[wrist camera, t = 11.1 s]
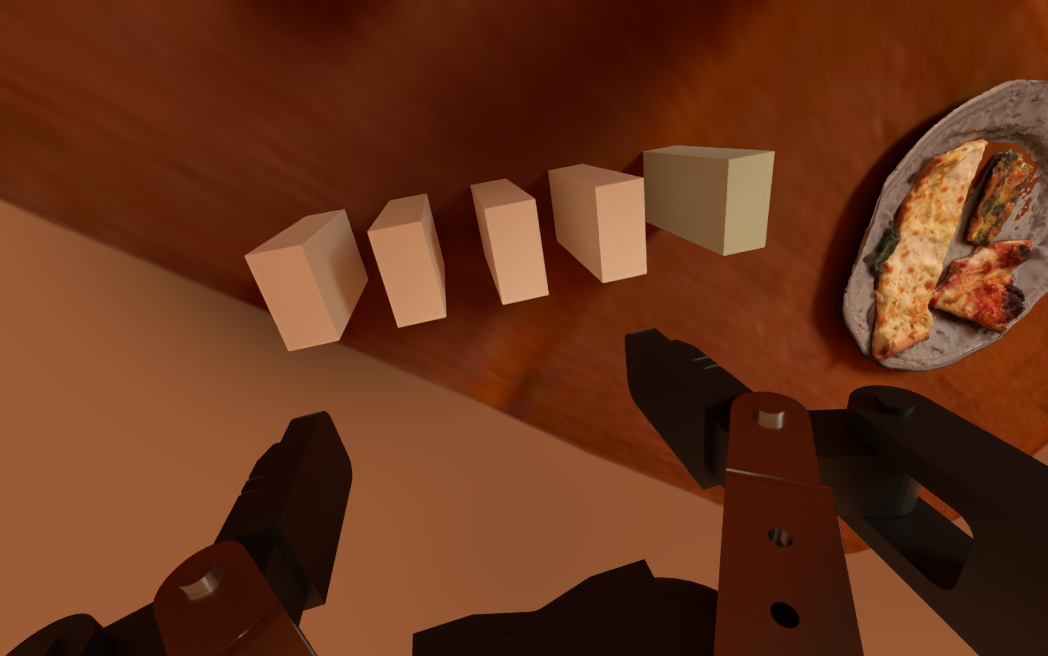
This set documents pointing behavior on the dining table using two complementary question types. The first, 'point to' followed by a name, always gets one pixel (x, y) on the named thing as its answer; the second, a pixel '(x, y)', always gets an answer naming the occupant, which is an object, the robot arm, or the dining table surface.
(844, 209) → the dining table surface
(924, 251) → the food plate
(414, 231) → the tile
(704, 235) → the sage tile
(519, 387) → the dining table surface
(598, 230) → the tile
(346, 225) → the tile
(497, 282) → the tile
